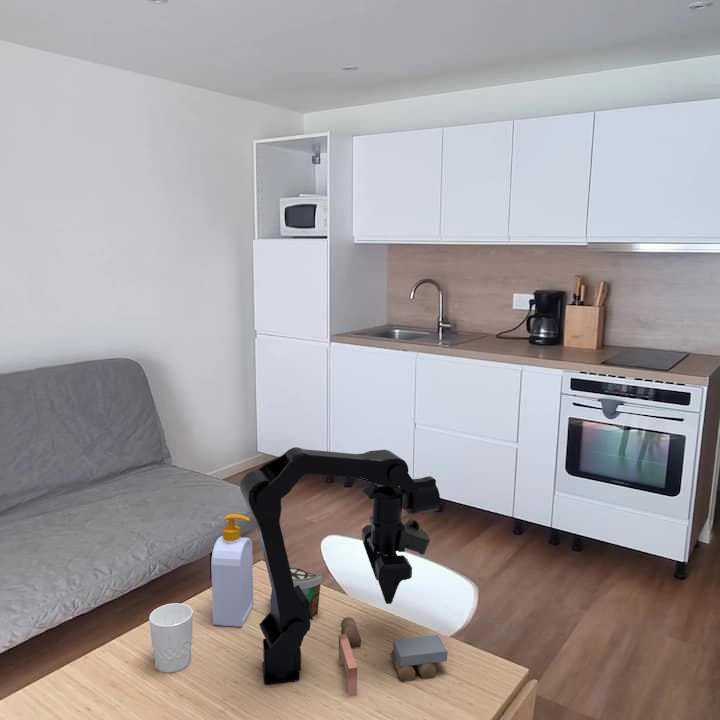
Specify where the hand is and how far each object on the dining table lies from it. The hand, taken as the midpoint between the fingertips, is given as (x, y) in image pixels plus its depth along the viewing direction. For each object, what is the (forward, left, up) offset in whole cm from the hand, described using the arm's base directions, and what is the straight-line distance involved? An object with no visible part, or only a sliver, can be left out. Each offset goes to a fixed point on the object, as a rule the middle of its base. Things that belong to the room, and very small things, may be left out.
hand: (383, 591), depth 128 cm
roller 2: (+1, -8, -12) cm, 14 cm away
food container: (-17, +15, -12) cm, 25 cm away
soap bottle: (-29, +17, -12) cm, 35 cm away
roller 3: (+5, -8, -12) cm, 15 cm away
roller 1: (-6, +4, -12) cm, 14 cm away
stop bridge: (-9, -8, -12) cm, 17 cm away
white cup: (-41, +3, -12) cm, 43 cm away
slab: (+5, -8, -9) cm, 13 cm away
